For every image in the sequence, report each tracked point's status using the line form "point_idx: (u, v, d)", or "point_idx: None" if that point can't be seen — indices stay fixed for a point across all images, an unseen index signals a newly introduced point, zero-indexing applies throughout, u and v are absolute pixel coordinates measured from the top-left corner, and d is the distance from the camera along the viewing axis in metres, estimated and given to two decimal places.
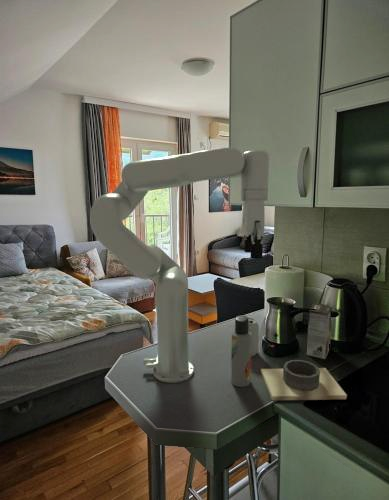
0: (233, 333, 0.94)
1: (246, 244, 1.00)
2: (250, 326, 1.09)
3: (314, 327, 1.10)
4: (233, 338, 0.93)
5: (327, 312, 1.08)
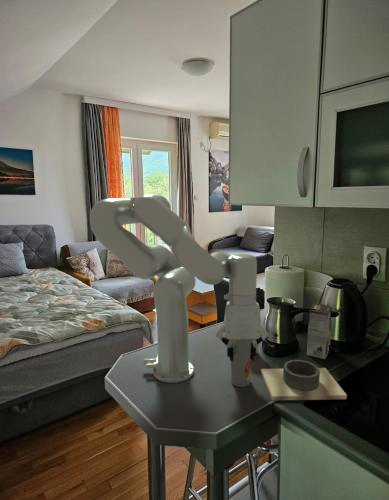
0: None
1: (232, 352, 0.94)
2: None
3: (314, 327, 1.10)
4: None
5: (327, 312, 1.08)
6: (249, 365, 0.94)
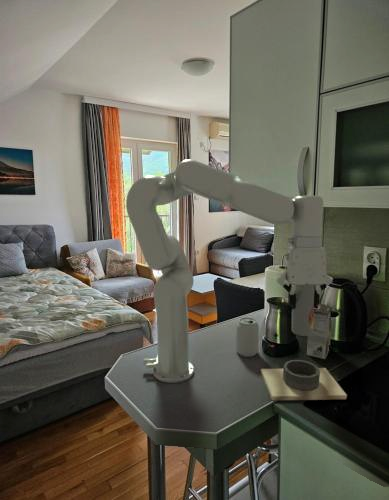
0: None
1: None
2: (250, 326, 1.09)
3: (314, 327, 1.10)
4: None
5: (327, 312, 1.08)
6: (312, 313, 0.89)
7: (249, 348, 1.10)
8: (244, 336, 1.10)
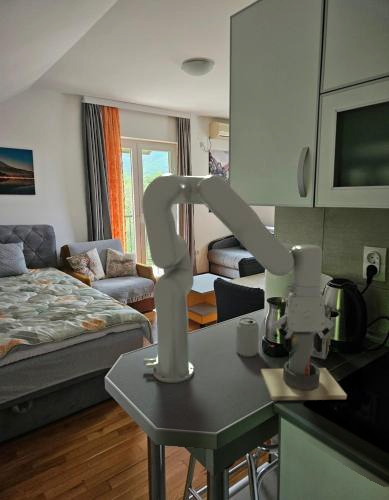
0: None
1: None
2: (250, 326, 1.09)
3: None
4: (293, 336, 0.91)
5: (327, 312, 1.08)
6: (309, 364, 0.92)
7: (249, 348, 1.10)
8: (244, 336, 1.10)
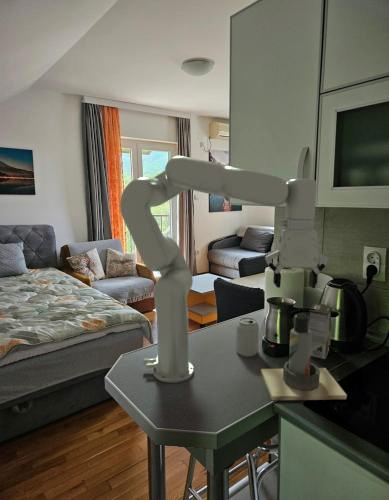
0: (292, 331, 0.92)
1: None
2: (250, 326, 1.09)
3: (314, 327, 1.10)
4: (293, 336, 0.91)
5: (327, 312, 1.08)
6: (309, 364, 0.92)
7: (249, 348, 1.10)
8: (244, 336, 1.10)
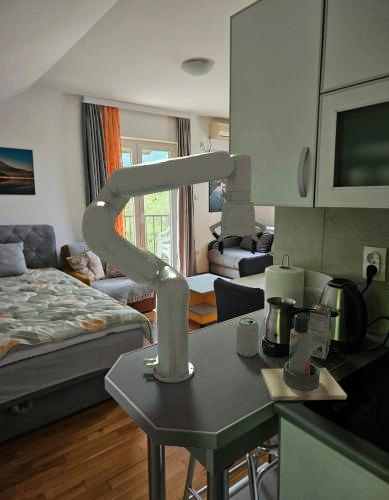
0: (292, 331, 0.92)
1: None
2: (250, 326, 1.09)
3: (314, 327, 1.10)
4: (293, 336, 0.91)
5: (327, 312, 1.08)
6: (309, 364, 0.92)
7: (249, 348, 1.10)
8: (244, 336, 1.10)
